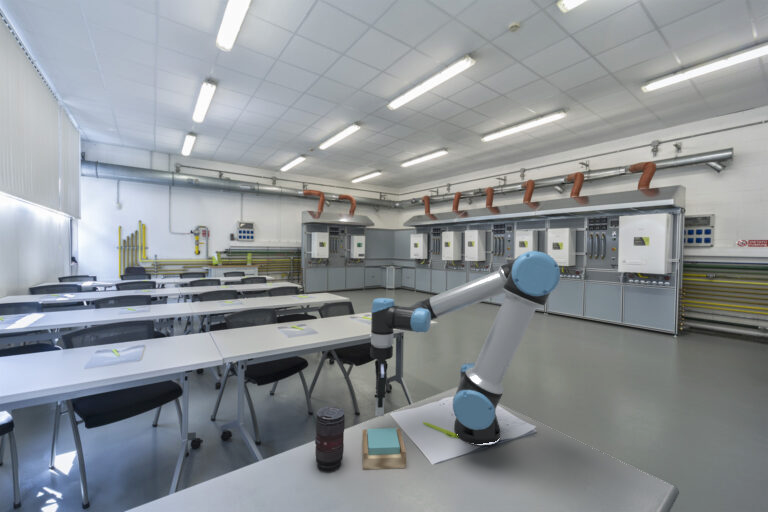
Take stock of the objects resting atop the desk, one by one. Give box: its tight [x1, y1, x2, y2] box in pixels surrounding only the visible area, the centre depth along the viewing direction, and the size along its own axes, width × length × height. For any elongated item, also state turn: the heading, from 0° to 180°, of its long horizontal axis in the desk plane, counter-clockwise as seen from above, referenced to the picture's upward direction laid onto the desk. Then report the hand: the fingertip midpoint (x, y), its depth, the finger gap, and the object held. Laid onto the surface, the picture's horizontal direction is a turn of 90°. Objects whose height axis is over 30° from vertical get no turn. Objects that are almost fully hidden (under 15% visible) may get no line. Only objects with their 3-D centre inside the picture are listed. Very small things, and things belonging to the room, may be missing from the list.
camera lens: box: [314, 405, 346, 473], centre depth 90 cm, size 8×8×15 cm
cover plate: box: [366, 427, 400, 455], centre depth 95 cm, size 9×10×2 cm
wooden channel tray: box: [361, 428, 407, 470], centre depth 94 cm, size 12×12×4 cm
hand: (379, 414), depth 105 cm, fingers closed
